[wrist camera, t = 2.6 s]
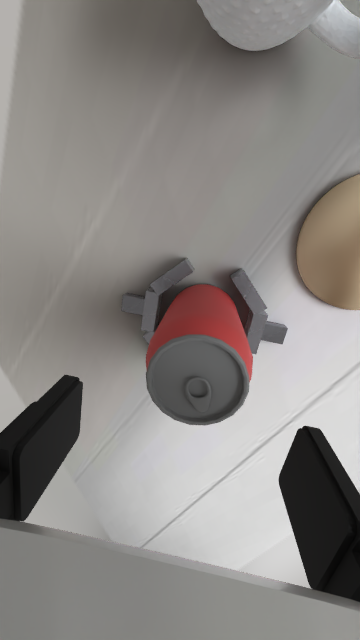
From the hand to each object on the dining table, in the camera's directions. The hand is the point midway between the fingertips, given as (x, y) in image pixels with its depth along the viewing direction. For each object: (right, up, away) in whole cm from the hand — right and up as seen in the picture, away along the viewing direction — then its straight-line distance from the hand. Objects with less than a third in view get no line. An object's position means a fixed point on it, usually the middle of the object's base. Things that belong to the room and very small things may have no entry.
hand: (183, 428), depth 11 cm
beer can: (+2, +5, +14) cm, 15 cm away
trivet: (+15, +11, +10) cm, 22 cm away
